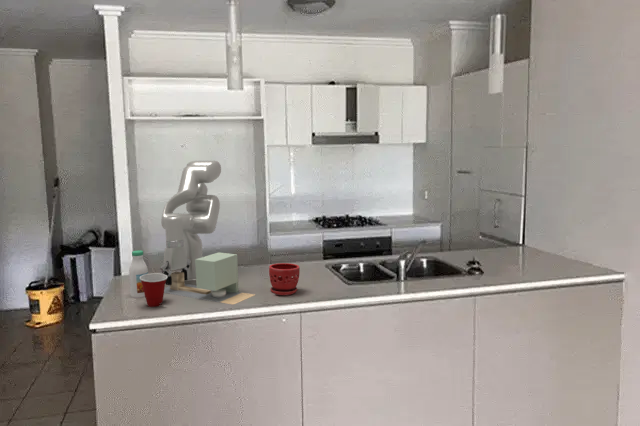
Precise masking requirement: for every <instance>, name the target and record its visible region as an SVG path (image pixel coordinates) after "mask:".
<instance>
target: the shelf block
mask: <svg viewBox="0 0 640 426" xmlns="http://www.w3.org/2000/svg"><path fill="white" fill-rule="evenodd" d="M238 264H239V263H238V254H236V253H235V254H234V253H229V252H227V253H226V252H215V253H211V254H208V255H206V256H203V257H202V258H198V259H195V265H196V280H195V281H196V284H195V285H196V286H197V288H201V289H208V290H214V291H216V290H219V289H226V291H227V292H234V293H238V292H240V291H239V289H240V288H239V269H238V266H239V265H238Z"/></svg>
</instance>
